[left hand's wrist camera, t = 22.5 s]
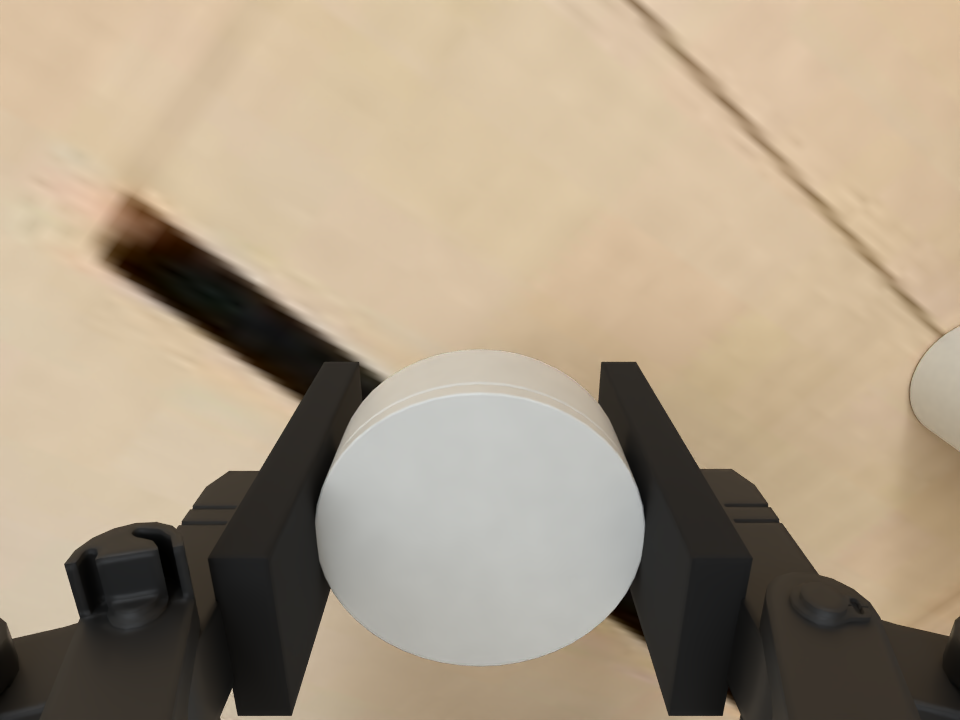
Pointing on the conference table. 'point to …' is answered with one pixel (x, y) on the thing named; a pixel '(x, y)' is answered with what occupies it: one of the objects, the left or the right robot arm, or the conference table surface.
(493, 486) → the lid
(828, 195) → the conference table surface
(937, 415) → the off-white tall cylinder
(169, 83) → the conference table surface
